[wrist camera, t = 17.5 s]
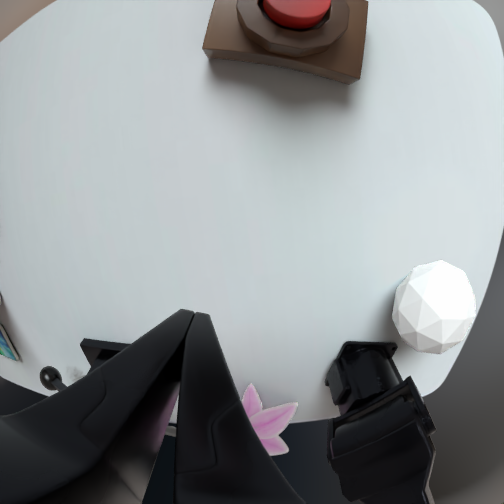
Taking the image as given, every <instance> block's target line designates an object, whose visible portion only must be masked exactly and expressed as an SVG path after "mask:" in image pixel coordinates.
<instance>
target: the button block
mask: <svg viewBox="0 0 504 504" xmlns="http://www.w3.org/2000/svg"><path fill="white" fill-rule="evenodd" d="M367 13H368V1H366V0H331V4H330V7H329V9H328V11H327V12H326V14H325V15H324V17H323V19H322V20H321V21H320V22H319V23H318V24H317V25H315V26H313V27H310V28H305V29H293V28H288V27H284V26H282V25H279V24H278V23H276V22H274V21H273V20H272V19H271V18H269V16H268V15H267V14H266V12H265V10H264V7H263V0H215V2H214V5H213V8H212V12H211V16H210V19H209V23H208V27H207V31H206V35H205V39H204V43H203V47H202V49H203V51H204V52H205V54H206V56H207V57H208V58H216V59H228V60H237V61H245V62H253V63H259V64H266V65H272V66H277V67H282V68H287V69H292V70H297V71H301V72H305V73H309V74H313V75H317V76H321V77H325V78H328V79H332V80H335V81H339V82H342V83H345V84H348V85H350V84H352V83H353V82H355V81H357V80H359V79H360V76H361V69H362V61H363V53H364V45H365V35H366V25H367Z"/></svg>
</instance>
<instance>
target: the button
mask: <svg viewBox="0 0 504 504" xmlns="http://www.w3.org/2000/svg"><path fill="white" fill-rule="evenodd" d="M330 4H331V0H263V7H264V10H265V12H266V14H267V15H268V16H269V18H271V19H272V20H273V21H274V22H276V23H278V24H279V25H282V26H284V27H288V28H293V29H305V28H310V27H313V26H315V25H317V24H318V23H319V22H320V21H321V20H322V19H323V17H324V15H325V14H326V12H327V11H328V9H329V7H330Z"/></svg>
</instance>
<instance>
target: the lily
mask: <svg viewBox="0 0 504 504" xmlns="http://www.w3.org/2000/svg"><path fill="white" fill-rule="evenodd" d="M242 404H243V406H244V409H245V411H246V414H247V416H248V418H249V420H250V422H251V424H252V426H253V429H254V430H255V432H256V434H257V436H258V437H259V439H260V441H261V442H262V444H263V446H264V447H265V449H266V450H267V452H268V453H269V455H270V456H272V455H280V454H284V453H287V452H288V451H289V449H288V447H287V445H286V444H285V443H284V441H283V440H282V439H281V438H280V437H279V436H278V435H279V434H280V433H281V432H282V431H283V430H284V429H285V428H286V427H287V425H288V424H289V422H290V421H291V419H292V418H293V416H294V414H295V412H296V410H297V408H298V402H291V403H287V404H283V405H279V406H275V407H271V408H268V409H265V410H263V408H262V404H261V401H260V398H259V395H258V393H257V391H256V389H255V387H254V385H253V384H252V383H250V384H249V385H248V387H247V389H246V391H245V393H244V396H243V398H242Z"/></svg>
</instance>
